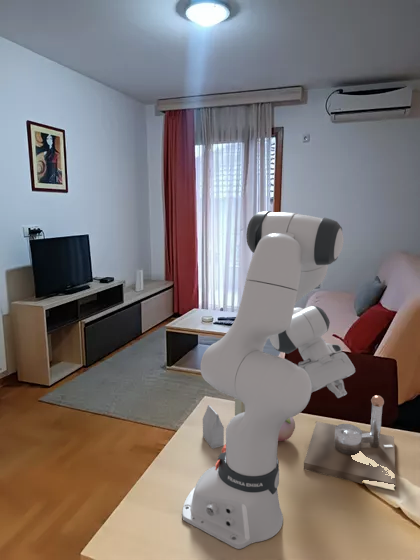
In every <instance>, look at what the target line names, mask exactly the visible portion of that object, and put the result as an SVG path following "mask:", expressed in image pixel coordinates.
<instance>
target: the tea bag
mask: <svg viewBox="0 0 420 560" xmlns="http://www.w3.org/2000/svg"><path fill="white" fill-rule="evenodd" d="M224 431H225V427H224V425H223V422H221V419H220V416H219V414H218V412H216V410H215V409H213V407H212V406H211V405H210V404H208V405H207V407H206V410H205V412H204V415H203V417H202V437H203V438H205V439H204V440H205V441H206V443H207V444H208V446H209V447H210V448H211V449H212V450H213V449H216V448H220V447H224V445H225V443H224V442H225V440H224V439H225V438H224V436H225V434H224Z"/></svg>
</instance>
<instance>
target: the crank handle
mask: <svg viewBox="0 0 420 560" xmlns="http://www.w3.org/2000/svg"><path fill="white" fill-rule="evenodd" d="M370 401H371V402H370V403H371V416H370V417H371V419H370V430H369V432H370V433H363V434H362V431H361V430H362V429H360V427H358V426H357V425H354V424H350V423H340V424H337V426H336V427H335V441H334V446H335V448H336V449H337V450H338V451H339V452H341V453H344V454H348V455H355V454H357V453H359V451H361V443H369V444H370V445H371V446H373V447H379V444H380V434H381V432H382V431H381V428H382V416H383V415H382V414H383V406H384V404H385V400H384V398H383V397H382V396H381V395H377V394H376V395H374V396H372V398H371V399H370Z"/></svg>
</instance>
